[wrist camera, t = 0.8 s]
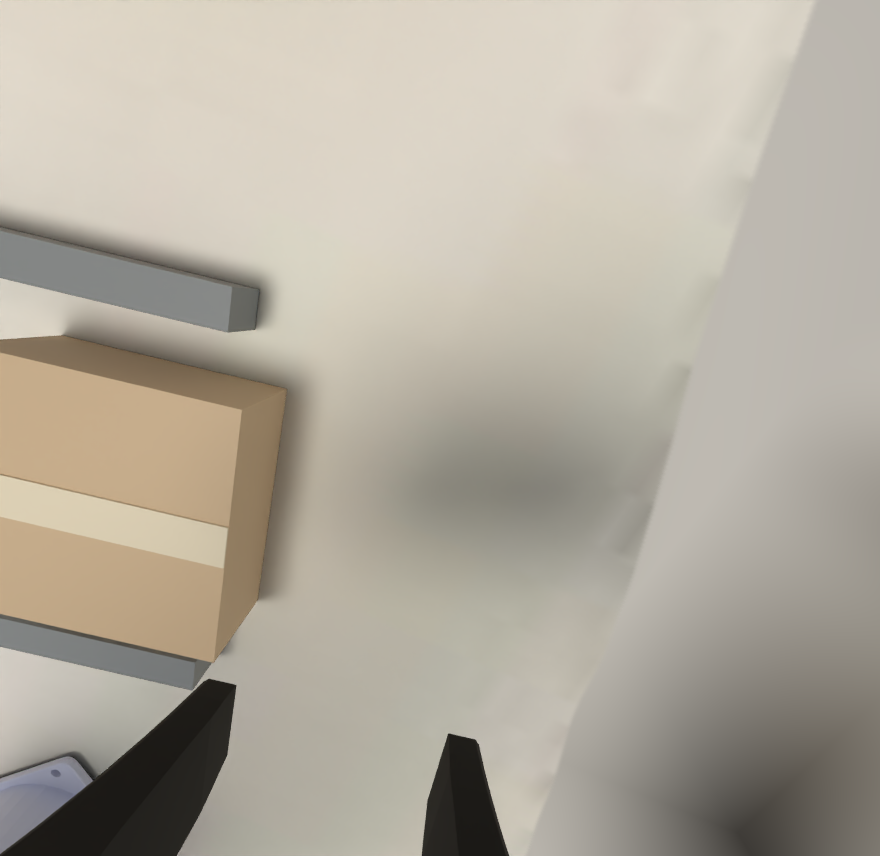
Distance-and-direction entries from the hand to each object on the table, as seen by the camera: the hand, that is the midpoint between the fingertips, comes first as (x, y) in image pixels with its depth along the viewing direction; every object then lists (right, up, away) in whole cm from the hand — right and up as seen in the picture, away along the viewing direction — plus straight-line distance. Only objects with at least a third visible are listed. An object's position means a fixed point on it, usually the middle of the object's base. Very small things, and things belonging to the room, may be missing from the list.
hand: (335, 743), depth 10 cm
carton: (-9, +5, +9) cm, 14 cm away
